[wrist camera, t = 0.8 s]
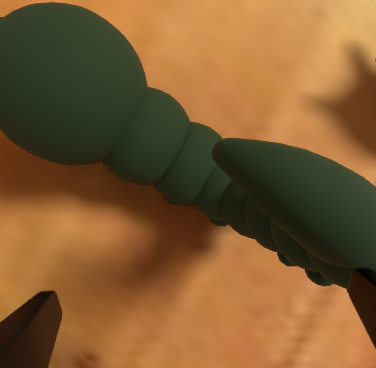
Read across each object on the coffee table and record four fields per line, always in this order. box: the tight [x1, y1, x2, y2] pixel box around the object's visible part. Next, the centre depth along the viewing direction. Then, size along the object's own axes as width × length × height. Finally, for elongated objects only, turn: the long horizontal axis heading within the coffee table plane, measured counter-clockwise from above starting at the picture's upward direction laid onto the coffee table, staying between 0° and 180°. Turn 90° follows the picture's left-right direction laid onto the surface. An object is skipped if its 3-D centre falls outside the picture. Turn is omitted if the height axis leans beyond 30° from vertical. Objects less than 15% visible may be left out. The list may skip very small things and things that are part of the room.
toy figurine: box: [0, 2, 376, 292], centre depth 15 cm, size 9×19×25 cm
